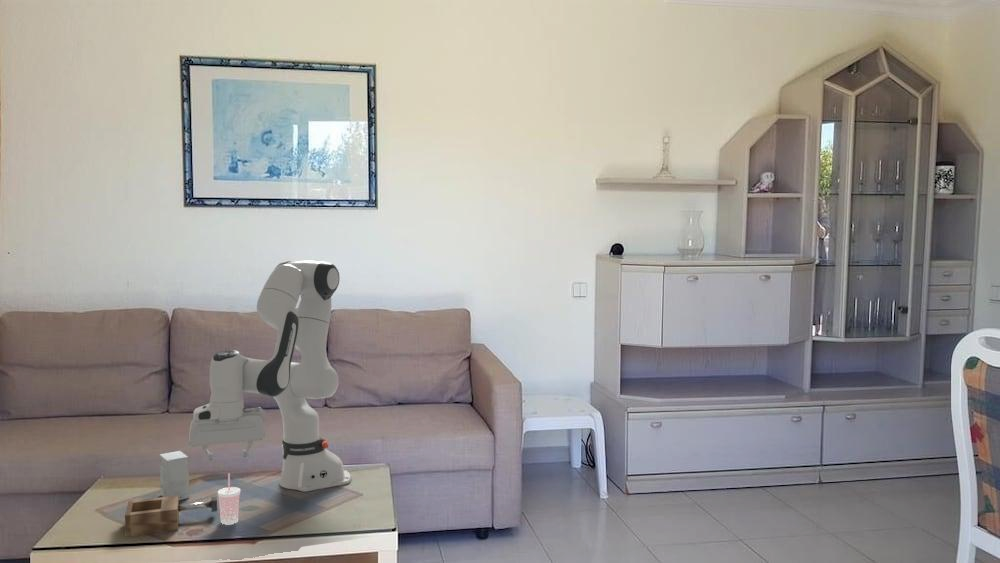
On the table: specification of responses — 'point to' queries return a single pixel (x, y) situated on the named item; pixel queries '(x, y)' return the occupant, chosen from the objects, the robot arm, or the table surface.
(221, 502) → the beverage cup
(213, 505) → the lock pin
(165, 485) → the small box
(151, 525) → the socket block
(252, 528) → the table surface
